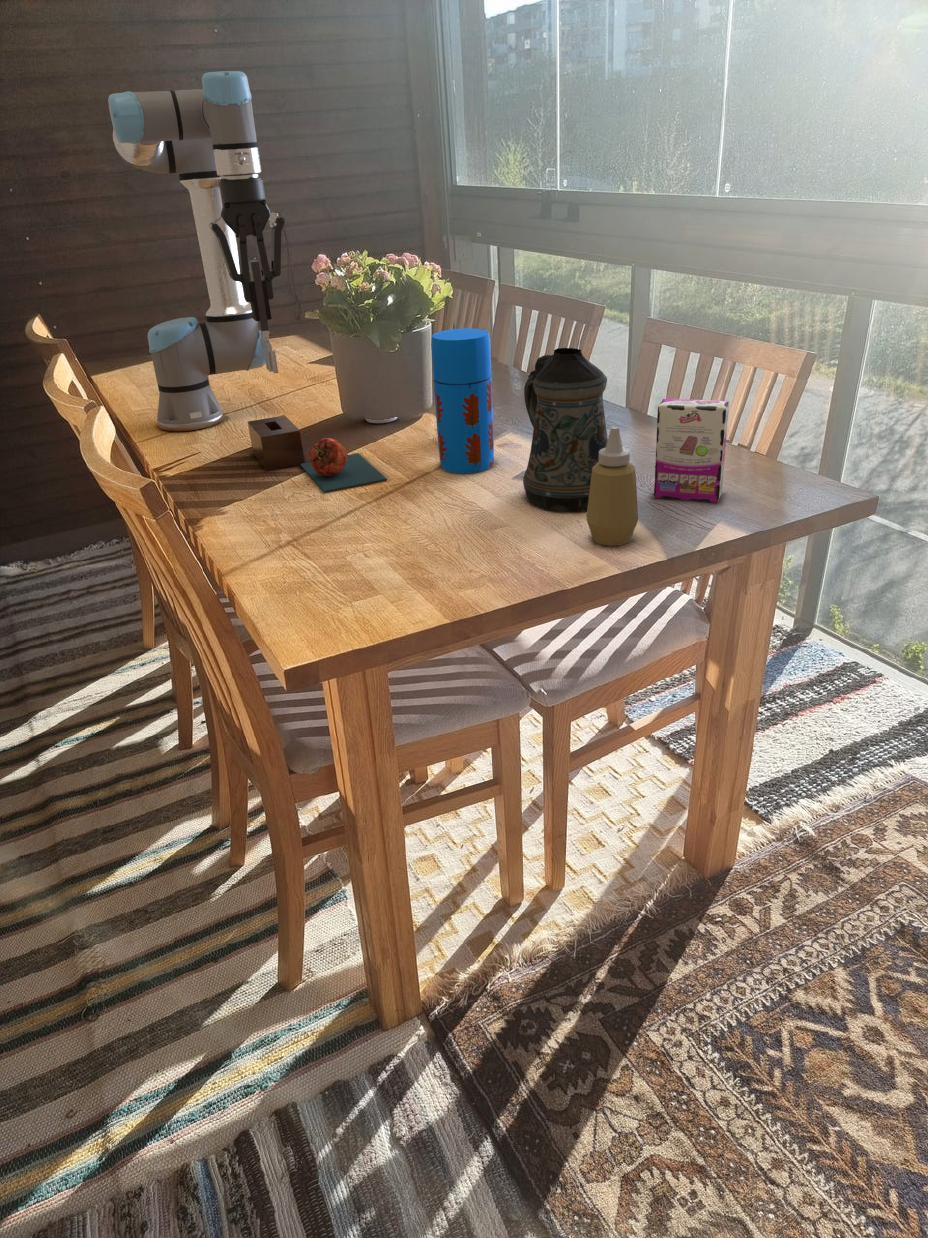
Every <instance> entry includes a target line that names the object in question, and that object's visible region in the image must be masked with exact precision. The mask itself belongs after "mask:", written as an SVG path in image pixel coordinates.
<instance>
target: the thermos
mask: <svg viewBox="0 0 928 1238" xmlns="http://www.w3.org/2000/svg"><path fill="white" fill-rule="evenodd" d="M430 343H431V344H430V347H431V349H430V350H431V362H432V363H431V364H432V375H433V377H432V378H433V390H434V391H433V392H434V405H435V419H436V433H437V434H436V435H437V447H438V455H439V456H438V457H439V462H440V468H441V469H442V470H443V471H444V472H448V473H452V474H459V475H460V474H463V475H464V474H475V473H481V472H484V471H487V470H489V469H491V468H492V467H493V466H494V462H495V461H494V460H495V434H494V409H493V385H492V383H493V382H492V358H491V356H492V355H491V339H490V333H489V331H487V330H485V329H482V328H471V327H470V328H466V327H465V328H464V327H463V328H451V329H445V330H444V329H443V330H440V331H437V332H435V333H433V334H432V335H431V341H430Z"/></svg>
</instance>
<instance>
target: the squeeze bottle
mask: <svg viewBox="0 0 928 1238" xmlns="http://www.w3.org/2000/svg"><path fill="white" fill-rule="evenodd" d="M630 456H631V451H630V450H629V449H628V448H625V447H623V442H622V436H621V431H620V427H619V426H611V427H610V430H609V435H608V442H607V446H606V448H603V449H601V450H600V451H599V462H598V463H597V464H596V465H595V466H593V467H592V475H591V483H590V492H589V500H588V508H587V511H586V523H587V525H588V528H589V532H590V535H591V537H592V540H593V541H594V542H595V543H596V544H600V545H603V546H611V547H613V546H615V547H616V546H621V545H624V544H625V545H626V544H627V543H629V542H630V540H631V539H632V537H633V534H634V531H635V529H636V527H637V524H638V522H639V506H638V491H637V490H638V489H637V475H636V466H635V465H634V464H632V463H631V462H630V460H631V459H630V458H631V457H630Z"/></svg>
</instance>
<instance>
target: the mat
mask: <svg viewBox="0 0 928 1238" xmlns="http://www.w3.org/2000/svg"><path fill="white" fill-rule="evenodd" d="M299 466H300V468H302V470H303V471H304V472H305V473H306V475H308V476H309V478H310V479H311V480H312V481H313V482H314V484H316V485H317V487H318V488H319V489H320V490H321V491H322V493H324V494H327V493H330V492H336V491H341V490H342V491H343V490H346V489H351V488H355V487H361V486H367V485H371V484H376V483H377V484H378V483H381V482H387V481H388V479H387V477H385V475H384V474H382V473H381V472H380V471H379V470H378V469H377V468H376V467H374V466H373V465H372V464H371V463H370V462H369V461H368V460H366V459H365V458H364V457H363V456H362V455H361V454H359V452H355V453H352V454H348V458H347V462H346V464H345V466H344V469H343V471H342V472H340V473H338V474H335V475H333V476H323V475H320V474H318V473H317V472H316V471H315V470H314V469H313V467H312V464H311V461H308V462H305V463H302V464H300V465H299Z"/></svg>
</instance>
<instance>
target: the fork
mask: <svg viewBox="0 0 928 1238" xmlns="http://www.w3.org/2000/svg"><path fill="white" fill-rule="evenodd" d="M248 266H249V276H250V282H253V283H255V290H256V296H257V303H258V309H259V315H260V321H258V327H259V329H260V330H261V337H262V338H260V340H261V346H262V347H263V349H264V355H265V362H266V363H265V367H266V370H267V371H269V373H272V372H273V374H278V373H279V366H278V361H277V353H276V350H273V345H272V343H271V342H270V337H269V331H270V326H269V320H267V314H266V307H265V300H264V294H263V287H262V280H263V279H262V275H261V270H260V266H259V261H258V259H250V260H249V259H248Z"/></svg>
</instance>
